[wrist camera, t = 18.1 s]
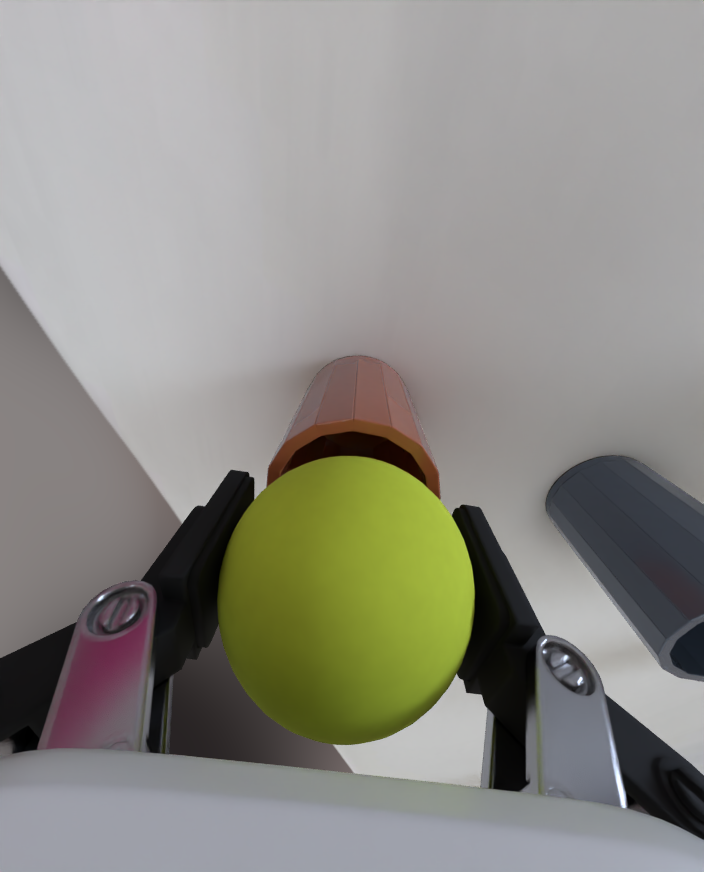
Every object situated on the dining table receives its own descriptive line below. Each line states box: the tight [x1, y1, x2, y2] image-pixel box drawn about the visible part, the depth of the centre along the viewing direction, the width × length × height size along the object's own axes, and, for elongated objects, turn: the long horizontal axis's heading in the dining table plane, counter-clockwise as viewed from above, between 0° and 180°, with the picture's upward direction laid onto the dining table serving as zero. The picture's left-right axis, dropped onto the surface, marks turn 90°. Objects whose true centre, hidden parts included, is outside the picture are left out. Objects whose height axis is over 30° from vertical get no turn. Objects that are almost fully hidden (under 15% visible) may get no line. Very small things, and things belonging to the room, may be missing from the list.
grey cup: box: [546, 456, 704, 682], centre depth 18 cm, size 7×7×10 cm
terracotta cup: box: [266, 356, 441, 500], centre depth 15 cm, size 7×7×9 cm
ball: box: [217, 456, 475, 745], centre depth 9 cm, size 7×7×7 cm
